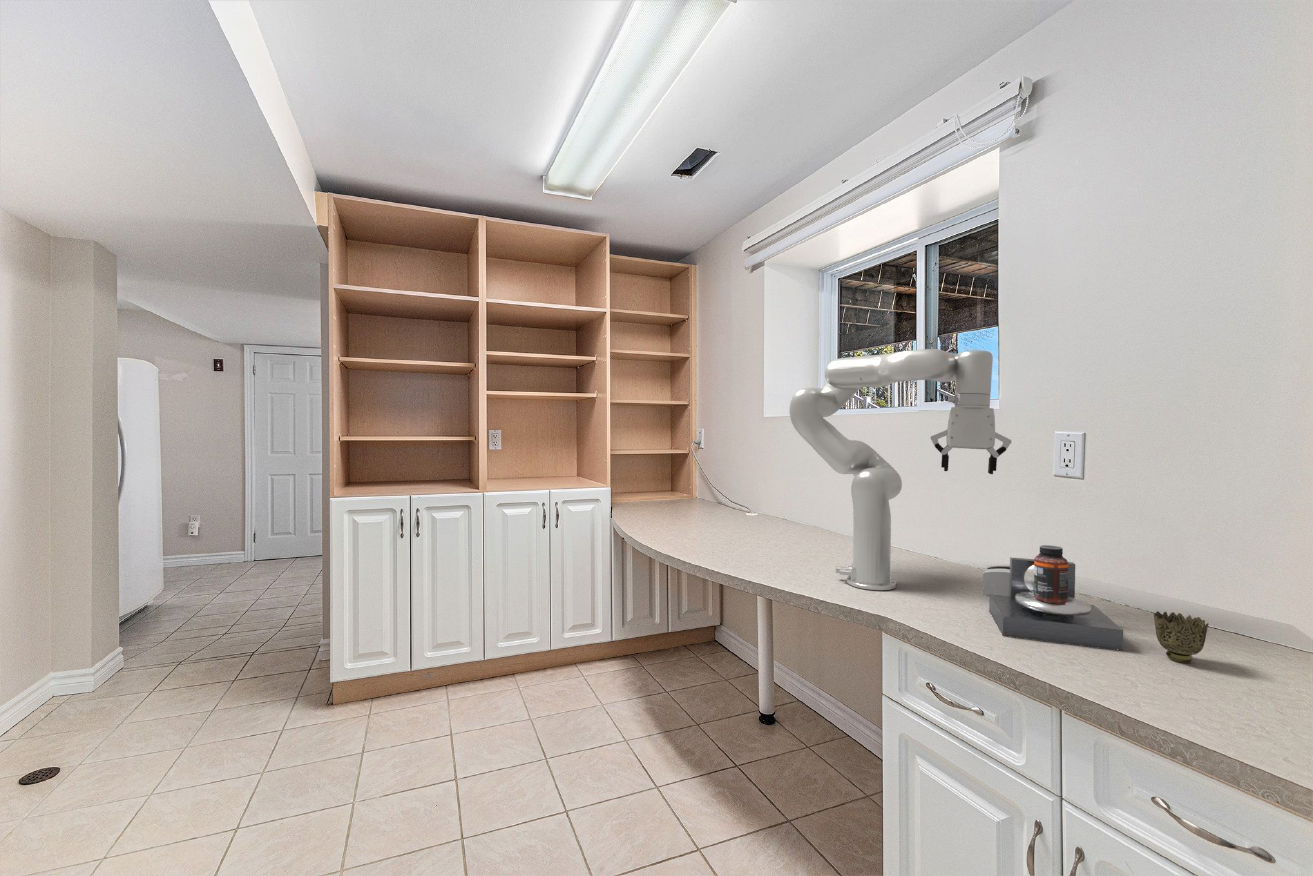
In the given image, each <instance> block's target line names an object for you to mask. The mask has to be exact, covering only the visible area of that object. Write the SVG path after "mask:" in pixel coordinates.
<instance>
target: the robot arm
mask: <svg viewBox="0 0 1313 876" xmlns="http://www.w3.org/2000/svg"><path fill="white" fill-rule="evenodd" d="M993 361H994V358H993V354H992V353H991V352H990V351H988V350H983V349H982V350H979V349H977V350H976V349H975V350H974V349H973V350H964V351H961V352H960V353H952V352H949V351H945V350H942V349H938V348H924V349H923V348H922V349H912V350H911V349H910V350H903V351H896V352H891V353H890V352H889V353H883V354H874V355H864V356H852V357H851V356H850V357H849V356H848V357H840V358H835V359H833V360H831V361H830V362H829V363H828V364H827V365H826V367H825V370H824V377H825V379H826V383H825V385H824V386H823V387H822V388H820V387H812V386H811V387H804V388H801V389H798V390H797V391H796V392H795V393H794V394H793V395H792V398H791V400H790V403H789V417H790V421H791V424H792V425H793V428H794V429H795V431H796V432H797V433H798V435H799V436H800V437H801V438H802V439H804V441H805V442H806V443H807V444H808V445H810V446H811V448H812V449H813V450H814V451H815V452H816V453H817V455H819V456H820V457H821V458H822V460H824V461H825V462H826V463H827V464H828V465H829V467H830V468H832V470H834V471H835V472H836V473H838V474H841V475H851V474H852V475H853V476H854V477H853V478H852V480H851V487H850V488H851V489H850V491H851V493H850V495H851V500H852V501H851V502H852V510H853V512H852V515H853V517H852V518H853V522H852V523H853V532H852V534H853V535H852V537H853V538H852V539H853V540H852V543H853V545H852V563H851V566H850V565H848V566H847V567H846V566H843V565H842V566H841V565H836V566H835V573H836V574H839V575H841V576H842V575H843V576H847V577H846V583H847V584H848V585H849V586H853V587H855V588H859V589H862V590H863V589H864V590H869V591H870V590H871V591H890V590H894V589H896V588H897V581H895V580H894V579H892V578H891V557H892V556H891V551H892V549H891V546H892V543H891V540H892V515H891V514H892V513H891V506H890V500H893V499H894V498H896V497H897V496H898V495H899V494H900V493H901V491H902V488H903V487H902V486H903V481H902V477H901V476H900V474H899V472H898V471H897V470H896V469H895V468H894V467H893V466H892V465H891V464H890V463H889V462H888V461H886V460H885V459H884V458H883V457H882V456H881V455H880V454H879V453H878V452H877V451H876V450H875V449H874V448H873V447H871V445H869V444H867V443H866V442H865V441H862V440H861V441H860V440H853V439H848V438H847V437H846V436H844V435H843V434H842V433H841V432H840V431H839V429H837V428H836V427H835V426H834V425H833V424H832V423H830V422H829V421H828V420H827V419H826V418H828V417H831V416H832V415H834V414H836V413H837V412H838V411H839V410H840V409H841V408H842V407H844V405H846V403H847V402H848V401H849V400H850V399H851V398H852V397H853V396H855V394H857V393H858V391H859V390H860V389H861V388H873V387H874V388H875V387H881V388H882V387H886V386H889V385H891V384H892V383H898V382H907V381H908V382H910V381H911V382H912V381H924V380H925V381H934V382H938V383H950V382H955V394H954V395H953V396H948V400H947V402H948V403H951V404H953V405H954V407H953V406H952V407H951V408H950V410H949V411H950V412H949V416H948V422H947V428H946V429H945V430H943V431H941V432H938V433H936V434H933V435H931V436H930V440H931V442H932V444H933V446H934V448H935V449H936V450H937V451H938V452H939V453H940V454H941V463H940V464H941V468H943V471H944V472H948V471H949V459H950V455H949V452H950V451H951V450H952V449H953V448H955V449H970V450H986V451H987V452H988V453H989V454H990V457H988V467H987V469H988V470H987V473H988V474H990V475H994V472H997V465H998V463H997V462H998V457H999V458H1000V456H1001V455H1002V454H1003V453H1005V452H1006V451H1007V449H1008V448H1009V447H1010V445H1011V444H1012V439H1009V438H1008V437H1006V436H1004V435H1002V434H1000V433H999V432H996V418H995V417H996V416H995V410H994V408H993V407H991V392H992V377H993ZM943 437H944V438H945V437H946V445H945V446H944V447H943V446H942V445H941V444H940V443H939V439H941V438H943ZM996 440H998V441H1000V442H1002V444H1001V446H1000V447H999V448H997V449H995V448H994V447H995V443H996Z"/></svg>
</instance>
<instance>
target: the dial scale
mask: <svg viewBox="0 0 1313 876" xmlns="http://www.w3.org/2000/svg"><path fill="white" fill-rule="evenodd" d="M1009 565H1010V585H1009V596H1001V595H991V594H989V596H988V599H989V600H988V601H989V602H988V612H989V613H990V616H991V615H992V616H991V617H993V618H992V619H993V621H994V622H995V625H996V624H997V625H996V626H997V628H998V630H999V632H1000V634H1001V633H1002V634H1001V635H1002V636H1003V637H1008V636H1012V637H1011V638H1016V637H1018V639H1024V638H1027V639H1026V640H1032V639H1034V641H1040V640H1043V641H1042V642H1048V643H1049V642H1050V643H1056V644H1064V643H1067V644H1066V645H1072V644H1073V646H1080V645H1084V646H1083V647H1088V646H1089V648H1090V647H1091V648H1096V647H1099V649H1104V648H1105V649H1106V650H1113V649H1115V650H1114V651H1121V650H1123V651H1124V629H1123V628H1121V626H1119V625H1118V624H1117V623H1116V622H1115V621H1113V620H1112V619H1111V618H1110V617H1109V616H1107V614H1105V613H1104V612H1103V611H1101V610H1100V608H1098V607H1097V606H1095V604H1090V603H1088V602H1086V601H1084V600H1081V599H1079V598H1075V597H1076V563H1074V562H1073V561H1068V601H1067V602H1066V603H1063V604H1054V603H1046V602H1043V601H1040V600H1037V599H1036V598H1035V597H1034V559H1033V558H1023V557H1021V558H1020V557H1011V556H1010V557H1009ZM1057 642H1058V643H1057ZM1068 643H1069V644H1068ZM1117 649H1118V650H1117Z"/></svg>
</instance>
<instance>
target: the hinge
mask: <svg viewBox="0 0 1313 876" xmlns="http://www.w3.org/2000/svg"><path fill="white" fill-rule="evenodd" d="M1009 585H1010V564H994V565H989V566H988V567H987V568H986V569H985V570H984V571H983V574H982V595H983V596H987V595H988V596H987V597H989V594H991V595H1001V596H1009Z"/></svg>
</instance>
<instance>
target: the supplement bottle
mask: <svg viewBox="0 0 1313 876" xmlns="http://www.w3.org/2000/svg"><path fill="white" fill-rule="evenodd" d="M1063 552H1064V551H1063V547H1061V546H1057V545H1049V544H1048V545H1047V544H1046V545H1045V544H1044V545H1043V544H1042V545H1039V553H1038V554H1037V555H1036V556H1035V557H1034V597H1035V598H1036V599H1037V600H1040V601H1043V602H1046V603H1054V604H1063V603H1066V602H1067V601H1068V562H1069V561H1068V560H1067V558H1065V557H1064V556H1063Z"/></svg>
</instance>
